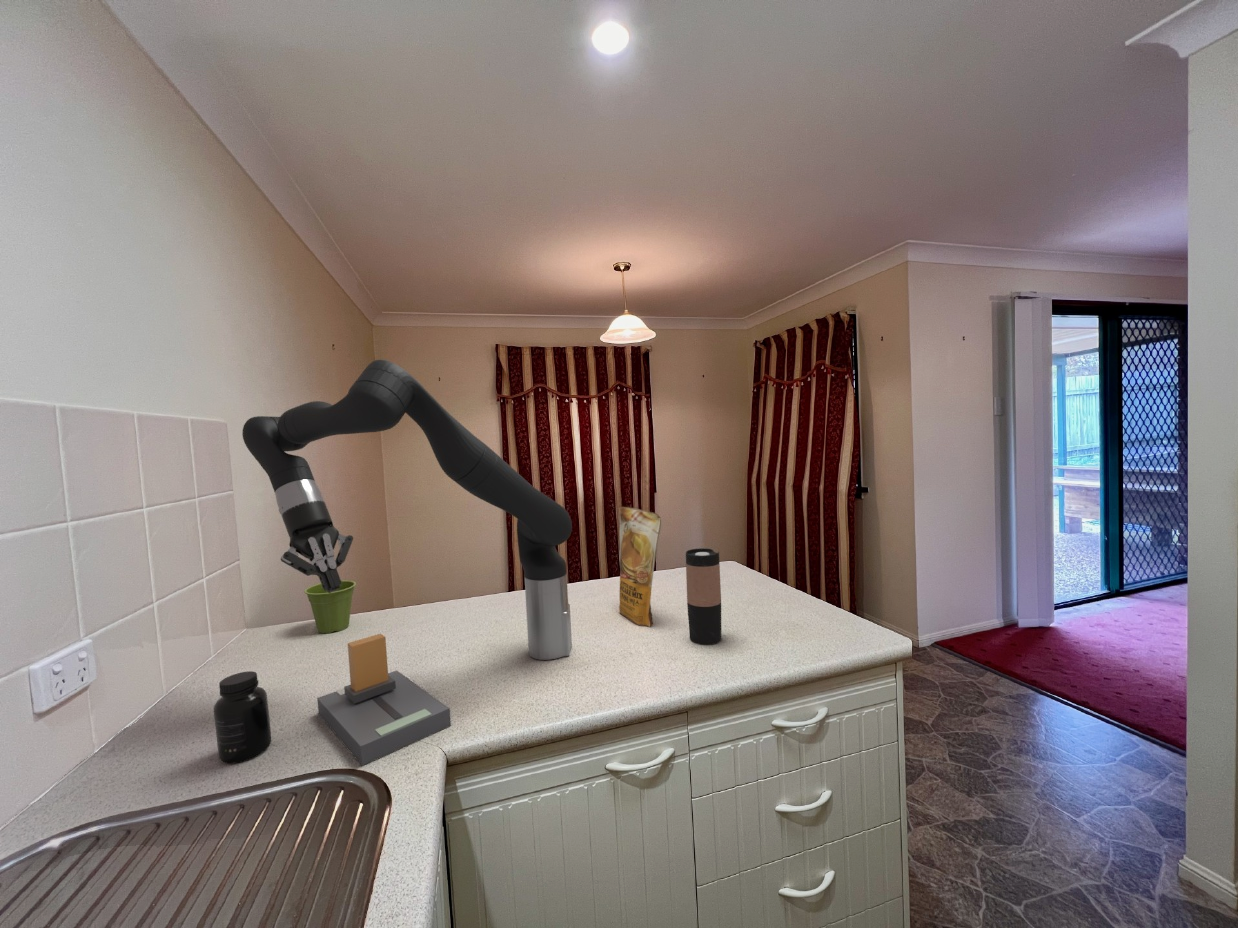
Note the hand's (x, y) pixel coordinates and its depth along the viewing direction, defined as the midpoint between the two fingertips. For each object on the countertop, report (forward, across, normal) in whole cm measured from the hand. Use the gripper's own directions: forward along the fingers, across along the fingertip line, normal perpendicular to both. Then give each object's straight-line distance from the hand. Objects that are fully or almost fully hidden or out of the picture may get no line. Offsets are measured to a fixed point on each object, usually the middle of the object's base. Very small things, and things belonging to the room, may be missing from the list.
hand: (334, 590), depth 97 cm
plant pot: (+1, +14, +46) cm, 48 cm away
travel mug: (+43, +58, -28) cm, 78 cm away
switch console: (+25, -2, -4) cm, 25 cm away
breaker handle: (+20, -1, -1) cm, 20 cm away
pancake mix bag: (+34, +62, -9) cm, 71 cm away
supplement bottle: (+20, -19, +4) cm, 27 cm away
